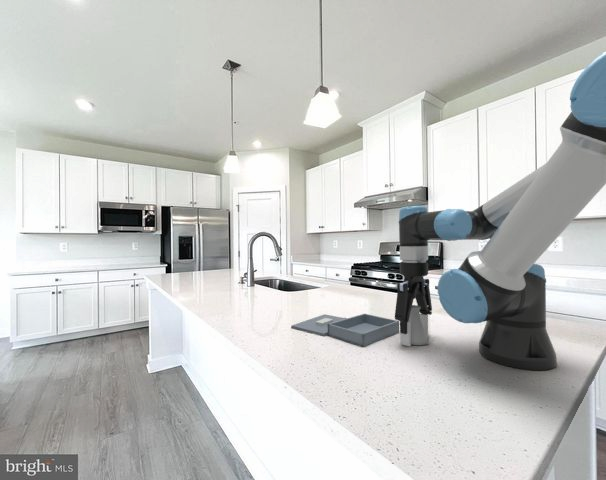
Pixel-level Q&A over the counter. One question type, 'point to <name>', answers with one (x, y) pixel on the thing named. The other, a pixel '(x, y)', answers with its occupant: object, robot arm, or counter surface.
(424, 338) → the flask
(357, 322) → the bin
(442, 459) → the counter surface
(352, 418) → the counter surface
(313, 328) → the bin lid
